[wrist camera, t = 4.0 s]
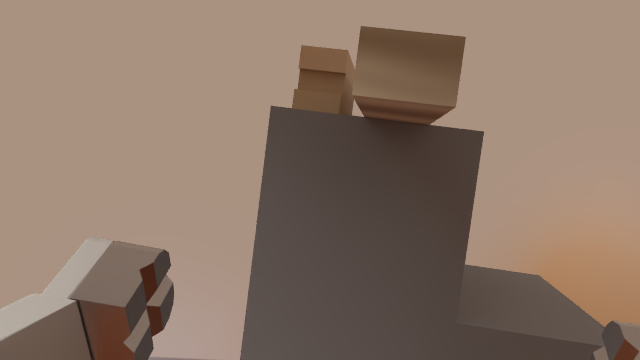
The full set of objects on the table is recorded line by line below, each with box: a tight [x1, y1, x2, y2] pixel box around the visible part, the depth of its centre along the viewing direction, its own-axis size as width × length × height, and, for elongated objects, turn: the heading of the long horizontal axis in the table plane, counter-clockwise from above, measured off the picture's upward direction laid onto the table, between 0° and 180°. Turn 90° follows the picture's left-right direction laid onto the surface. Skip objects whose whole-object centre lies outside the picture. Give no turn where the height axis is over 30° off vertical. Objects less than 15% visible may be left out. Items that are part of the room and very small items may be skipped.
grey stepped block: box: [240, 45, 605, 360], centre depth 34 cm, size 16×18×30 cm
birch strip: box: [352, 26, 465, 125], centre depth 29 cm, size 26×3×2 cm, turn 173°
